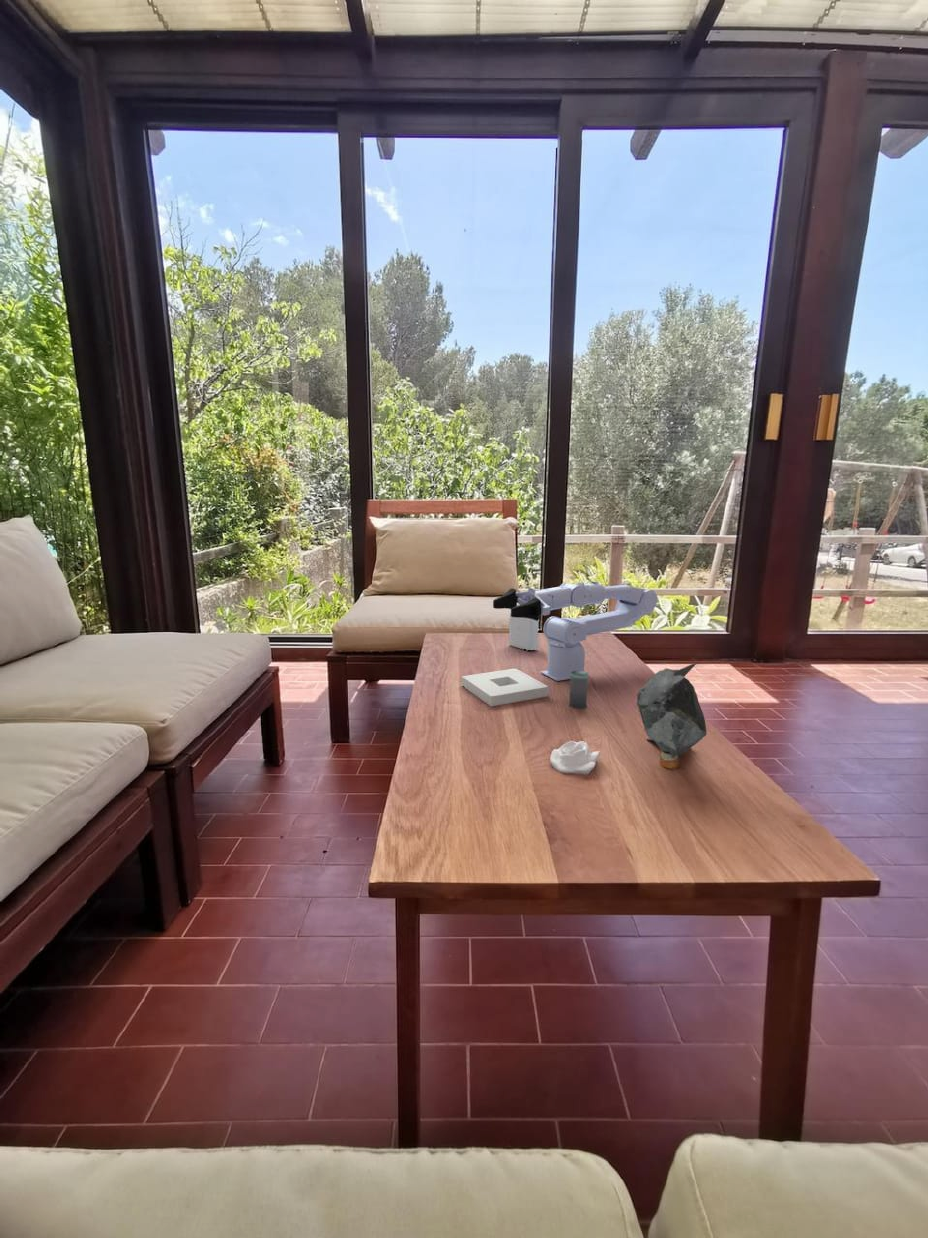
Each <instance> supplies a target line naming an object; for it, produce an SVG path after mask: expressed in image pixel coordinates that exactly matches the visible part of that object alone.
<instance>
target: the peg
mask: <svg viewBox="0 0 928 1238" xmlns="http://www.w3.org/2000/svg"><path fill="white" fill-rule="evenodd" d="M569 681H570V683H569V686H570V687H569V702H568V705H569V707H571V708H573V709H579V710H580V709H585V708H587V704H588V702H587V700H588V683H589V672H588V671H585V670H584V671H579V670H577V671H572V672H571V679H569Z"/></svg>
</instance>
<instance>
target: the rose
mask: <svg viewBox="0 0 928 1238" xmlns="http://www.w3.org/2000/svg"><path fill="white" fill-rule="evenodd" d="M550 754H551V755H550V757H549V762H550V764H551V766H552V767H553V769H555V770H556V771H558V772H560V773H563V774H577V775H589V774H590V772H591V771H592V770H593V769H594V768H595V766H596V762H597V761H598V759H599V757H600V756H601V751H599V750H598V751H597V750H596V751H593V752H591V749H590V746H589V745H588V743H587V742H586V741H583V740H581V741H577V742H576V741H573V740H571V741H567V742H565V743H563V744H562V745H561V746H560V747H559V748H554V749H553V750H552V751H551V753H550Z"/></svg>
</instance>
